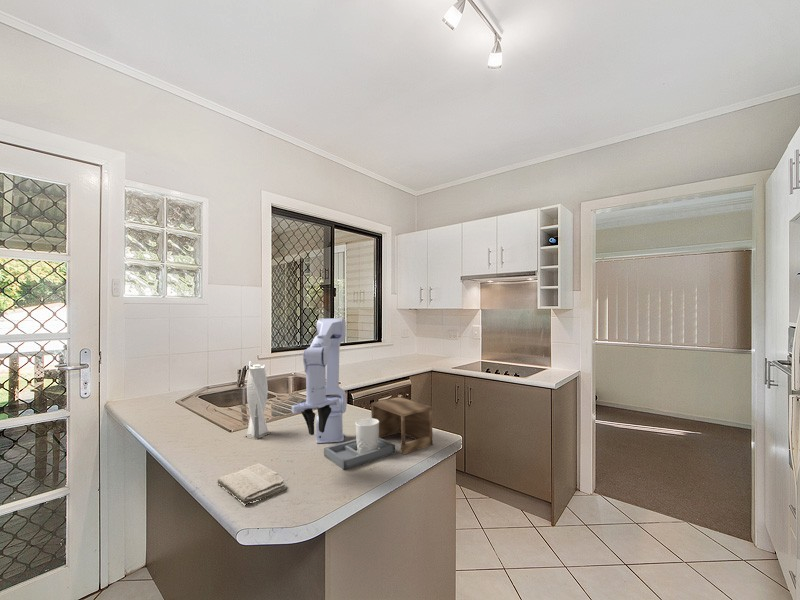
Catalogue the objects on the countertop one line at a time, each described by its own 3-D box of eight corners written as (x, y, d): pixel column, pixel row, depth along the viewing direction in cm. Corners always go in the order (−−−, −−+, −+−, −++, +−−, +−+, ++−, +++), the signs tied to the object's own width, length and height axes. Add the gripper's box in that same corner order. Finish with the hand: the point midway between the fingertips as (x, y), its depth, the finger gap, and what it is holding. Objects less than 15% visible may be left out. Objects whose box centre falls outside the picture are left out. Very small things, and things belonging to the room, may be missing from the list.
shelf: (403, 454, 115) (402, 414, 115) (371, 438, 129) (371, 402, 130) (432, 444, 123) (431, 406, 123) (400, 430, 137) (399, 396, 138)
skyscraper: (240, 436, 134) (239, 362, 135) (257, 429, 141) (256, 359, 142) (256, 439, 130) (256, 363, 131) (273, 432, 138) (272, 360, 138)
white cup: (376, 458, 113) (375, 426, 113) (352, 456, 114) (352, 425, 114) (382, 448, 120) (381, 418, 121) (360, 446, 122) (359, 417, 122)
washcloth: (245, 510, 85) (245, 496, 85) (215, 486, 97) (215, 474, 97) (289, 490, 94) (289, 478, 94) (257, 470, 106) (256, 460, 106)
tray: (343, 470, 104) (343, 461, 105) (324, 456, 115) (324, 447, 115) (395, 453, 116) (395, 445, 116) (373, 441, 126) (373, 434, 126)
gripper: (297, 393, 99) (298, 442, 99) (343, 385, 108) (344, 430, 108) (288, 389, 105) (289, 435, 104) (333, 382, 114) (333, 425, 113)
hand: (316, 432), depth 106 cm, fingers open, 3 cm apart
